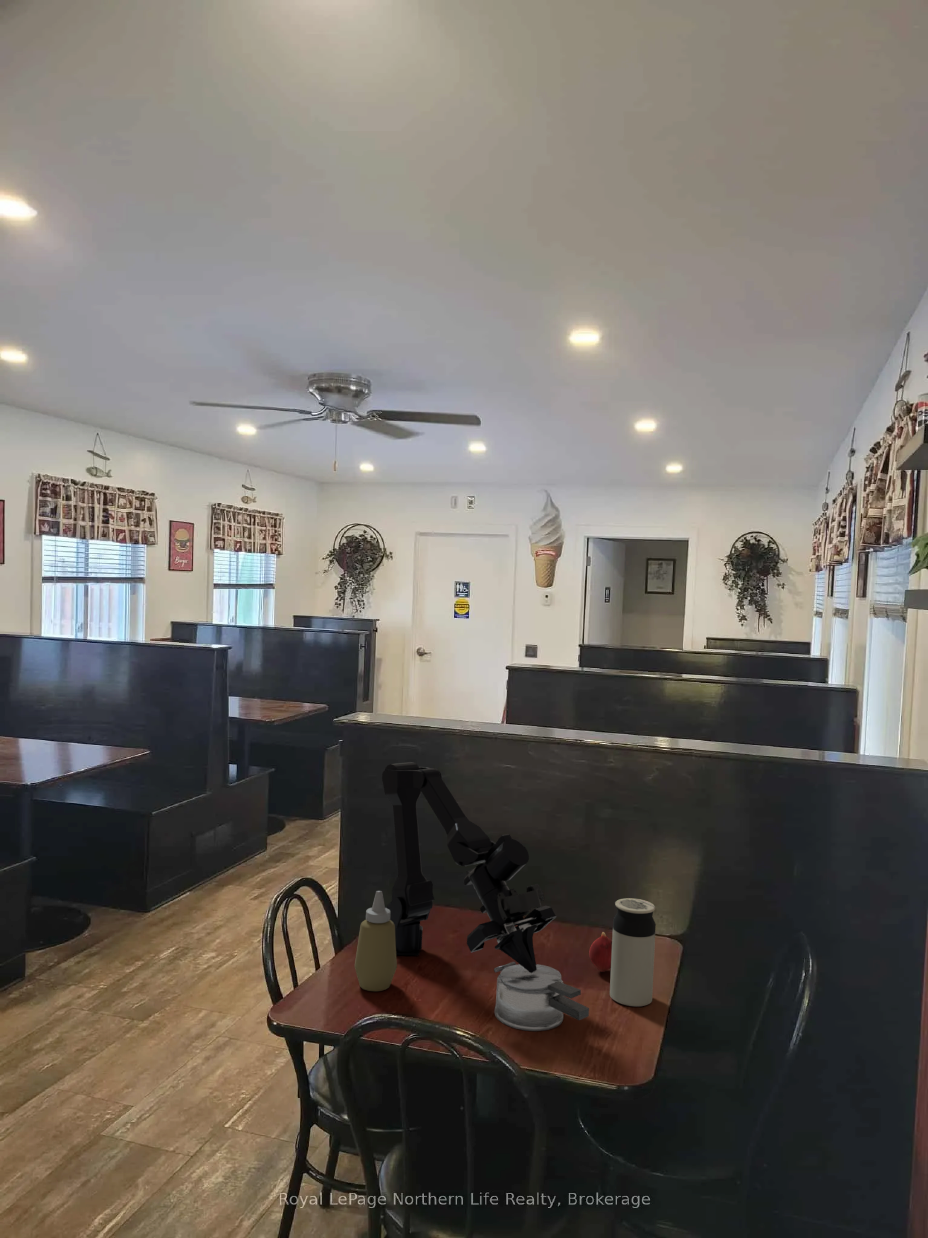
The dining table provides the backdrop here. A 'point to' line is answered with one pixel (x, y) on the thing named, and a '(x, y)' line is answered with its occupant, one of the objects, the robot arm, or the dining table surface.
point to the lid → (535, 979)
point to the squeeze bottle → (376, 948)
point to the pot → (534, 1008)
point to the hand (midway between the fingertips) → (534, 971)
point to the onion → (601, 953)
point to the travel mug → (633, 952)
